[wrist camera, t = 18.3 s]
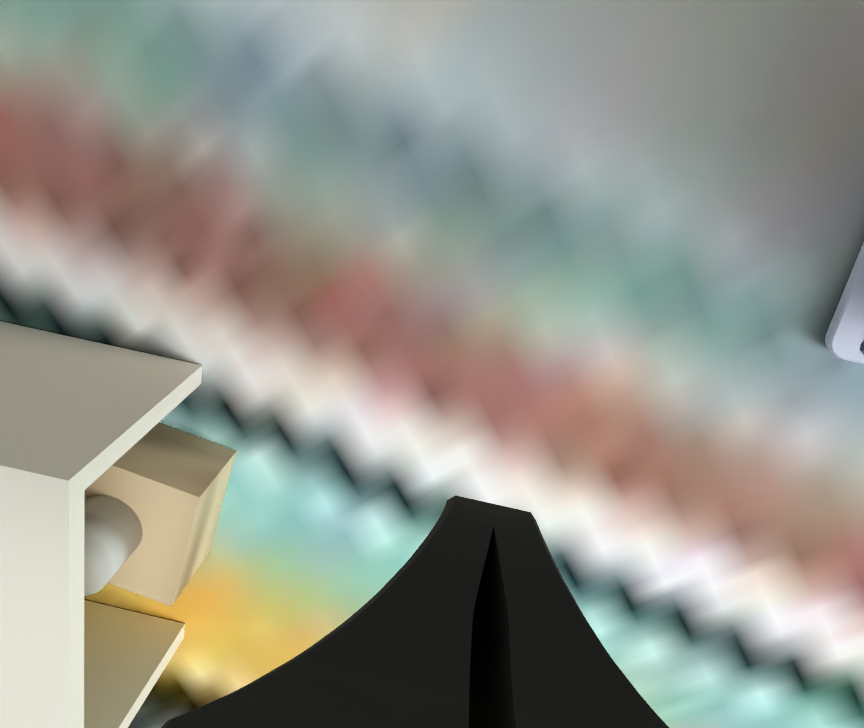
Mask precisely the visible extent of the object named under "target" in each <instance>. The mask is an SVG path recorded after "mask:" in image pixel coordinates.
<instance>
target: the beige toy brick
mask: <svg viewBox="0 0 864 728" xmlns="http://www.w3.org/2000/svg"><path fill="white" fill-rule="evenodd" d="M236 452H237V451H236V450H233V449H230V448H228V447H225V446H222V445H220V444H217V443H214V442H211V441H209V440H206V439H203V438H201V437H198V436H195V435H192V434H190V433H187V432H184V431H181V430H179V429H176V428H173V427H171V426H168V425H165V424H162V423H160V422H159V423H158V424H156V425H155V426H154V427H153V428H152V429H151V430H150V431H149V432H148V433H147V434H146V435H144V436H143V437H142V438H141V439H140V440H139V441H138V442H137V443H136V444H135V445H134V446H132V447H131V448H130V449H129V450H128V451H127V452H126V453H125V454H124V455H123V456H121V457H120V458H119V459H118V460H117V461H116V462H115V463H114V464H113V465H112V466H111V467H109V468H108V469H107V470H106V471H105V472H104V473H103V474H102V475H101V476H100V477H99V478H97V479H96V480H95V481H94V482H93V483H92V484H91V485H90V486H89V487H88V488H86V489H85V490H84V596H87V595H92V594H95V593H97V592H98V591H100V590H101V589H102V588H103V587H104V586H105V585H106V584H107V583H109V584H112V585H115V586H117V587H120V588H123V589H125V590H128V591H131V592H134V593H136V594H139V595H142V596H145V597H147V598H150V599H153V600H155V601H158V602H161V603H164V604H166V605H169V606H172V605H173V603H174V602H175V601H176V599H177V598H178V596H179V595H180V593H181V592H182V590H183V589H184V587H185V586H186V585H187V583H188V582H189V580H190V579H191V577H192V576H193V574H194V573H195V571H196V570H197V569H198V567H199V566H200V564H201V563H202V561H203V560H204V558H205V557H206V555H207V554H208V552H209V551H210V547H211V544H212V540H213V536H214V533H215V529H216V525H217V522H218V518H219V514H220V511H221V507H222V503H223V500H224V496H225V492H226V489H227V485H228V481H229V478H230V474H231V470H232V467H233V463H234V459H235V456H236Z"/></svg>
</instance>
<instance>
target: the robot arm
mask: <svg viewBox="0 0 864 728" xmlns="http://www.w3.org/2000/svg"><path fill="white" fill-rule="evenodd" d="M863 340H864V242H863V245H862V247H861V250H860V252H859V255H858V257H857V260H856V262H855V264H854V267H853V269H852V272H851V274H850V277H849V279H848V282H847V284H846V287H845V289H844V291H843V294H842V296H841V299H840V301H839V304H838V306H837V309H836V311H835V314H834V316H833V319H832V321H831V323H830V326H829V328H828V331H827V333H826V338H825V343H826V347H827V348H828V350H829V351H830V352H831V353H832V354H833V355H834V356H836V357H838V358H840V359H842V360H846V361H851V362H856V363H861V364H864V351H860V344H861V343H862V342H863ZM161 728H669V727H668V726H667V725H666V724H665V723H664V722H663V721H662V720H661V719H660V717H659V716H658V715H657V714H656V713H655V712H654V711H653V710H652V708H651V707H650V706H649V705H648V704H647V703H646V701H645V700H644V699H643V698H642V697H641V696H640V694H639V693H638V692H637V691H636V689H635V688H634V687H633V685H632V684H631V683H630V682H629V680H628V679H627V678H626V676H625V675H624V674H623V673H622V671H621V670H620V669H619V667H618V666H617V665H616V664H615V662H614V661H613V660H612V658H611V657H610V655H609V654H608V653H607V651H606V650H605V648H604V647H603V645H602V644H601V642H600V641H599V639H598V637H597V636H596V634H595V633H594V631H593V630H592V628H591V627H590V625H589V623H588V622H587V620H586V618H585V617H584V615H583V613H582V612H581V610H580V608H579V607H578V605H577V603H576V601H575V600H574V598H573V596H572V594H571V592H570V591H569V589H568V587H567V585H566V583H565V581H564V580H563V578H562V576H561V574H560V572H559V570H558V568H557V566H556V564H555V562H554V560H553V558H552V556H551V554H550V552H549V550H548V547H547V545H546V543H545V541H544V539H543V536H542V534H541V532H540V529H539V527H538V525H537V522H536V520H535V518H534V517H533V515H532V514H531V512H526V511H522V510H518V509H513V508H509V507H504V506H500V505H495V504H491V503H486V502H482V501H477V500H473V499H468V498H464V497H459V496H454V497H452V498H450V499H449V500H447V503H446V506H445V508H444V510H443V512H442V514H441V516H440V518H439V520H438V521H437V523H436V524H435V526H434V527H433V529H432V530H431V532H430V533H429V535H428V536H427V538H426V539H425V540H424V541H423V543H422V544H421V545H420V546H419V548H418V549H417V550H416V551H415V553H414V554H413V555H412V557H411V558H410V559H409V560H408V561H407V562H406V564H405V565H404V566H403V567H402V568H401V569H400V570H399V571H398V572H397V573H396V574H395V575H394V576H393V577H392V579H391V580H390V581H389V582H388V583H387V584H386V585H385V586H384V587H383V588H382V589H381V590H380V591H379V592H378V593H377V594H376V595H375V596H374V597H373V598H372V599H370V600H369V601H368V602H367V603H366V604H365V605H364V606H363V607H362V608H360V609H359V610H358V611H357V612H356V613H355V614H353V615H352V616H351V617H350V618H349V619H347V620H346V621H345V622H344V623H342V624H341V625H340V626H339V627H337V628H336V629H335V630H333V631H332V632H330V633H329V634H328V635H326V636H325V637H324V638H322V639H321V640H320V641H318V642H317V643H315V644H314V645H313V646H311V647H310V648H308V649H307V650H305V651H304V652H302V653H301V654H299V655H298V656H296V657H295V658H293V659H291V660H290V661H288V662H286V663H285V664H283V665H281V666H279V667H278V668H276V669H274V670H272V671H271V672H269V673H267V674H265V675H264V676H262V677H260V678H259V679H257V680H255V681H253V682H252V683H250V684H248V685H246V686H244V687H242V688H241V689H239V690H237V691H235V692H233V693H231V694H228V695H226V696H224V697H222V698H220V699H217V700H215V701H213V702H211V703H208V704H206V705H204V706H202V707H199V708H197V709H195V710H193V711H190V712H188V713H186V714H183V715H181V716H178V717H176V718H173V719H171V720H169V721H167V722H166V723H165V724H164V725H163V726H162V727H161Z"/></svg>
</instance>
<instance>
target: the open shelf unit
mask: <svg viewBox="0 0 864 728" xmlns="http://www.w3.org/2000/svg"><path fill="white" fill-rule="evenodd" d="M201 377H202V365H198V364H194V363H189V362H184V361H180V360H175V359H171V358H166V357H162V356H157V355H152V354H148V353H143V352H139V351H134V350H130V349H125V348H120V347H116V346H111V345H107V344H102V343H98V342H93V341H88V340H84V339H79V338H75V337H70V336H66V335H61V334H56V333H52V332H47V331H43V330H38V329H34V328H29V327H24V326H20V325H15V324H11V323H6V322H2V321H0V728H128V726H129V725H130V723H131V721H132V720H133V718H134V717H135V715H136V713H137V712H138V710H139V709H140V707H141V705H142V704H143V702H144V701H145V699H146V697H147V696H148V694H149V693H150V691H151V689H152V688H153V686H154V685H155V683H156V681H157V680H158V678H159V677H160V675H161V673H162V672H163V670H164V669H165V667H166V665H167V664H168V662H169V661H170V659H171V657H172V656H173V654H174V652H175V651H176V649H177V648H178V646H179V644H180V643H181V641H182V640H183V638H184V630H185V624H183V623H179V622H175V621H171V620H167V619H162V618H158V617H154V616H150V615H146V614H141V613H137V612H133V611H129V610H124V609H120V608H116V607H112V606H108V605H103V604H99V603H95V602H91V601H86V600H84V490H85V489H86V488H88V487H89V486H90V485H91V484H92V483H93V482H94V481H95V480H96V479H97V478H99V477H100V476H101V475H102V474H103V473H104V472H105V471H106V470H107V469H108V468H109V467H111V466H112V465H113V464H114V463H115V462H116V461H117V460H118V459H119V458H120V457H121V456H123V455H124V454H125V453H126V452H127V451H128V450H129V449H130V448H131V447H132V446H134V445H135V444H136V443H137V442H138V441H139V440H140V439H141V438H142V437H143V436H144V435H146V434H147V433H148V432H149V431H150V430H151V429H152V428H153V427H154V426H155V425H156V424H158V423H159V422H160V421H161V420H162V419H163V418H164V417H165V416H166V415H167V414H168V413H170V412H171V411H172V410H173V409H174V408H175V407H176V406H177V405H178V404H179V403H181V402H182V401H183V400H184V399H185V398H186V397H187V396H188V395H189V394H190V393H191V392H193V391H194V390H195V389H196V388H197V387H198V386H199V385H200V384H201Z"/></svg>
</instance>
